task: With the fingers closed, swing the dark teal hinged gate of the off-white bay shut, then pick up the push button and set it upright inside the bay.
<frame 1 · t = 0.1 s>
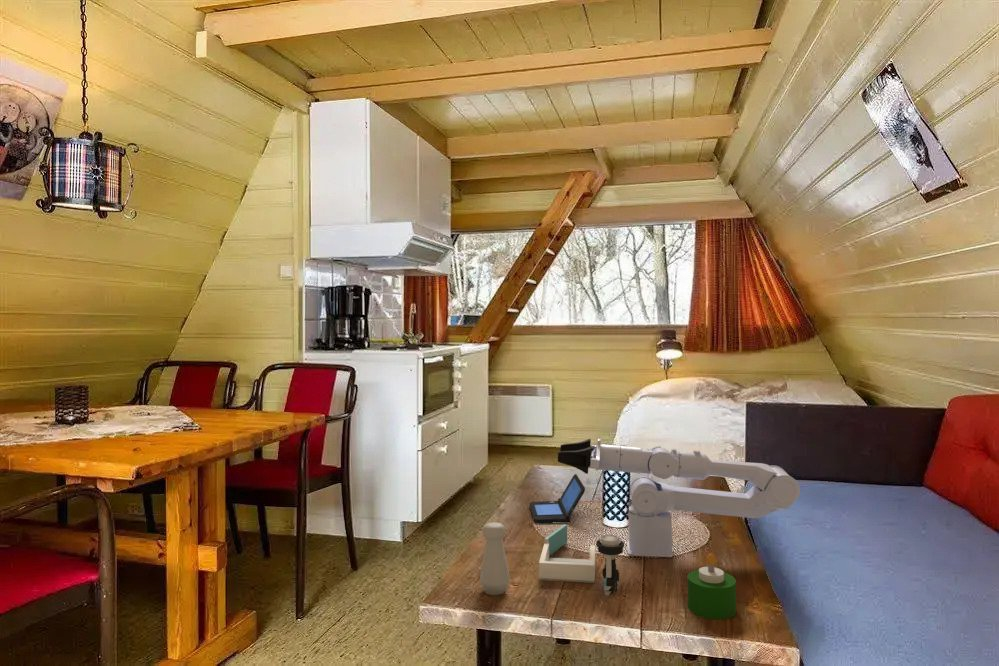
hand: (559, 452, 144), 22 cm above the table, tool horizontal, fingers open, 7 cm apart
candle: (711, 609, 113), on the table
push button: (610, 591, 121), on the table
salt shaker: (494, 591, 122), on the table
gate: (556, 540, 143), point 2 cm above the table, hinge at 70.0°
bay: (568, 569, 132), on the table
handheld game console: (556, 515, 169), on the table
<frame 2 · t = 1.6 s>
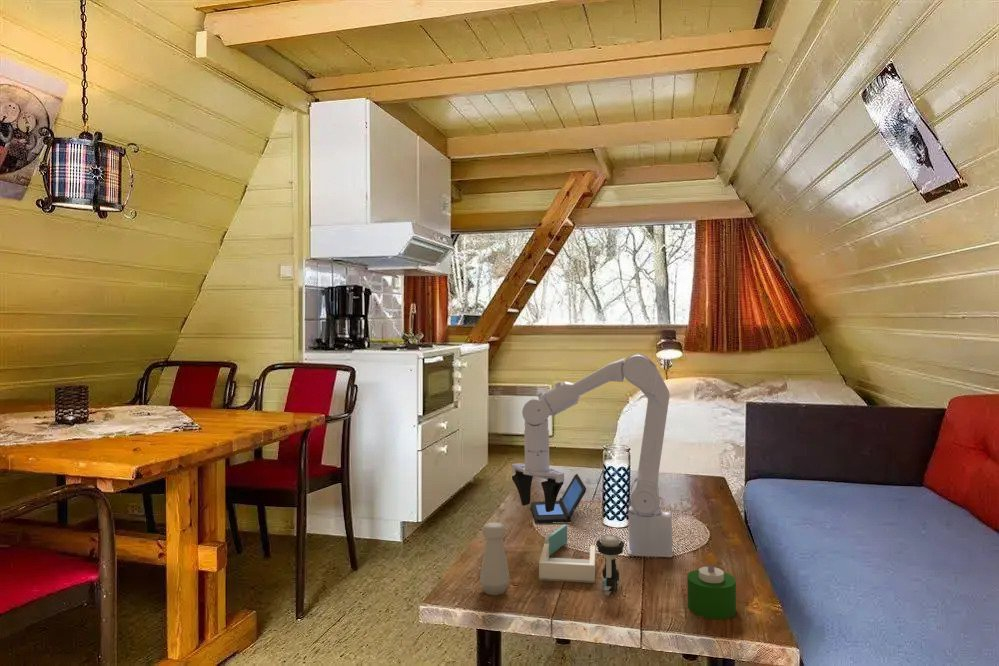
hand: (537, 507, 147), 8 cm above the table, tool pointing down, fingers open, 7 cm apart
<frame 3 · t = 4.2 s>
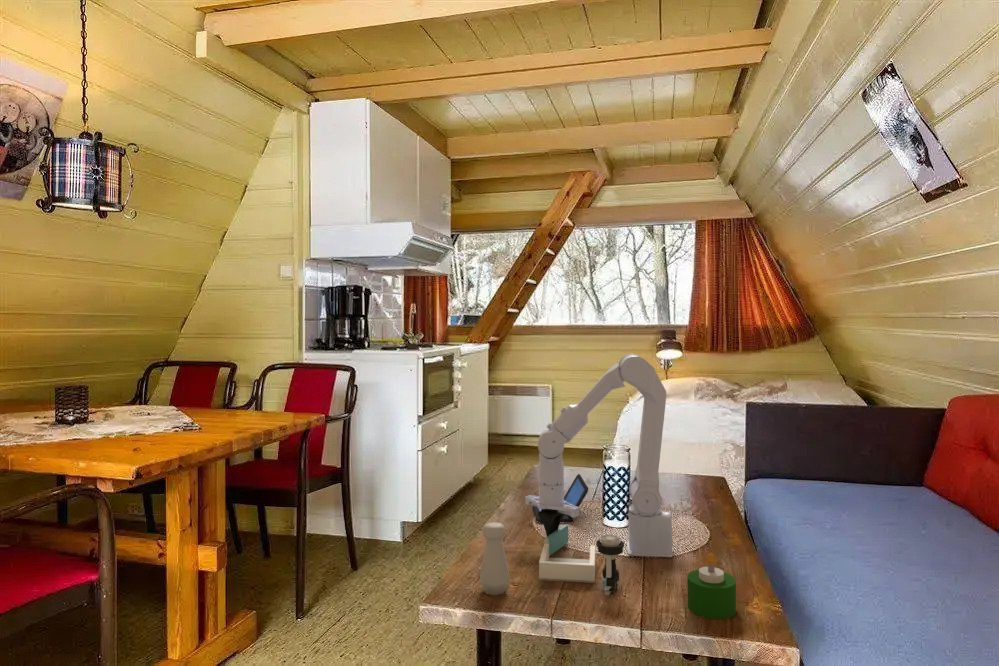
hand: (551, 541, 144), 1 cm above the table, tool pointing down, fingers closed
gate: (556, 540, 142), point 2 cm above the table, hinge at 68.6°, touching gripper
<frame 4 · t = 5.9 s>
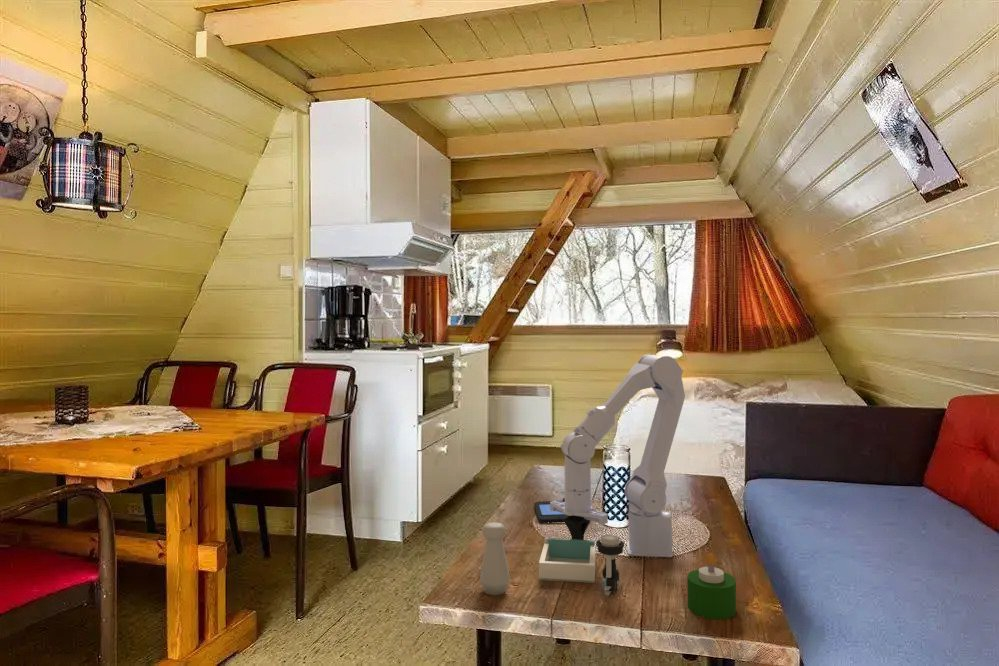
hand: (578, 549, 139), 1 cm above the table, tool pointing down, fingers closed, pressing on gate
gate: (569, 548, 137), point 2 cm above the table, hinge at -1.5°, touching gripper
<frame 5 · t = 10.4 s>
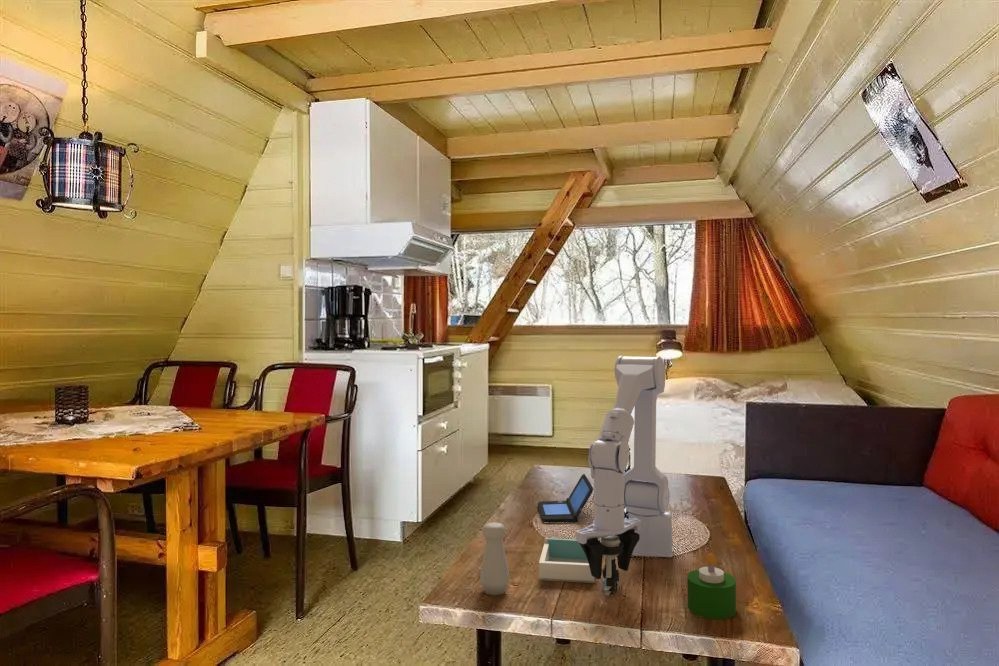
hand: (609, 572, 121), 3 cm above the table, tool pointing down, fingers open, 6 cm apart
push button: (610, 591, 121), on the table, touching gripper
gate: (569, 548, 137), point 2 cm above the table, hinge at -2.0°
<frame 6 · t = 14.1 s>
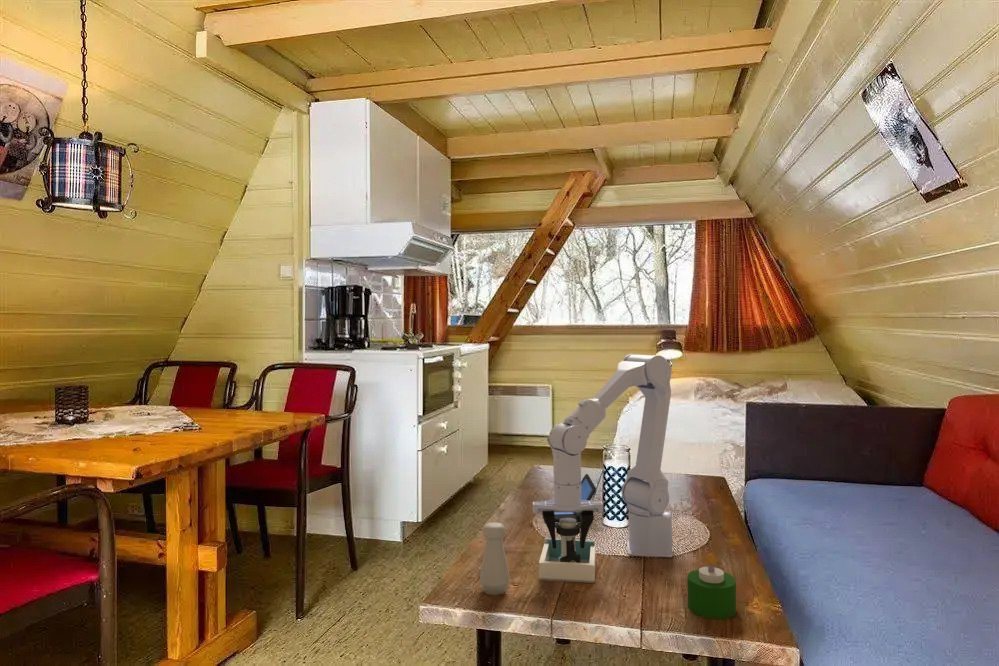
hand: (568, 546, 132), 5 cm above the table, tool pointing down, fingers closed on push button, 5 cm apart
push button: (566, 569, 131), resting on bay, touching gripper
when the fingers open (5 cm above the table, at t = 14.6 s): push button stays where it is, resting on bay.
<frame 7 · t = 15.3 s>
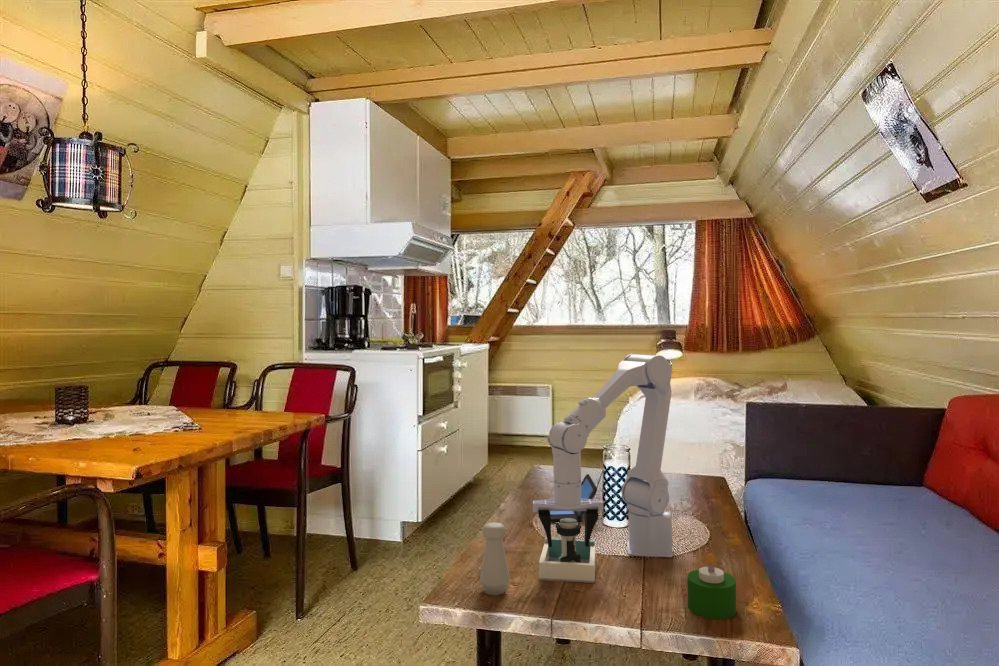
hand: (568, 545, 132), 5 cm above the table, tool pointing down, fingers open, 7 cm apart
push button: (566, 570, 131), resting on bay
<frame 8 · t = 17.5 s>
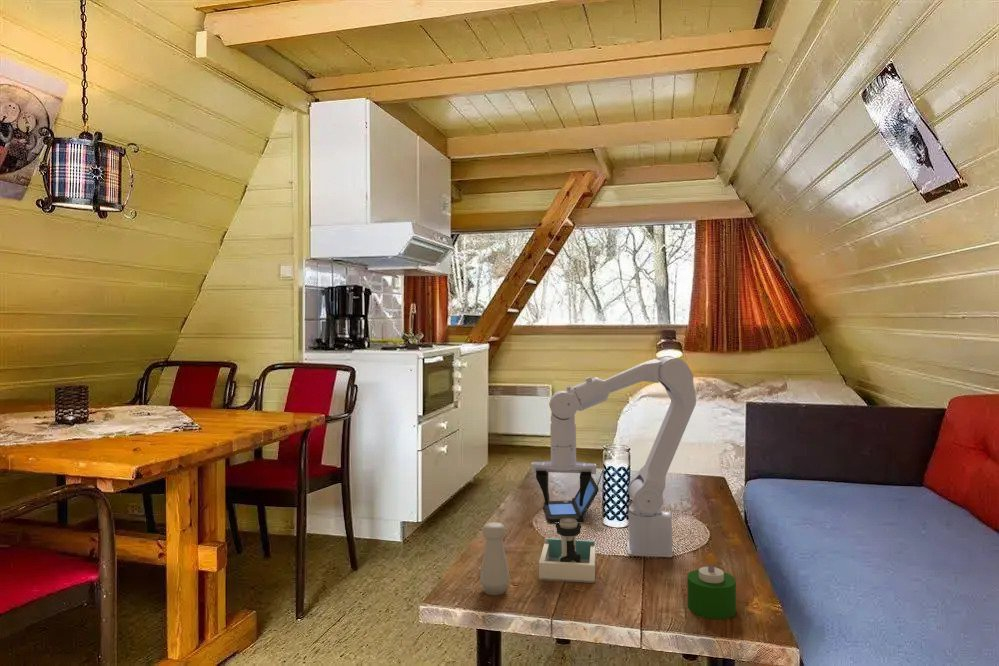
hand: (564, 504, 143), 10 cm above the table, tool pointing down, fingers open, 7 cm apart
at the end: gate at -2° (first picture: +70°); push button 0.9 cm off-centre on the bay, point 0.2 cm above the bay's base; push button tilted 0° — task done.
